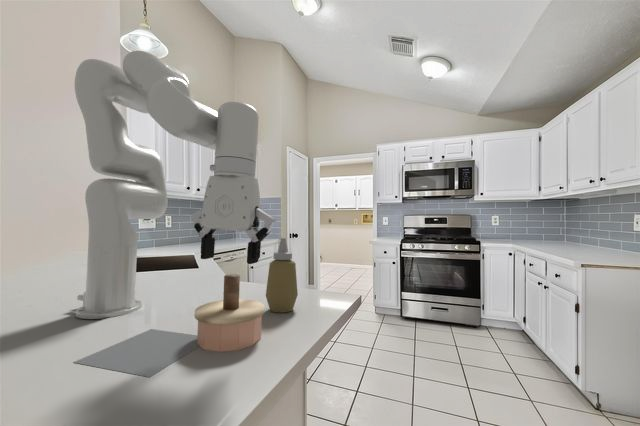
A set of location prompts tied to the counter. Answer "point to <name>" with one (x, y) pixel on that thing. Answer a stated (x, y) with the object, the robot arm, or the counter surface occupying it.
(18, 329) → the counter surface
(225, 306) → the lid
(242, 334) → the bowl
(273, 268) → the squeeze bottle
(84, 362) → the mat
